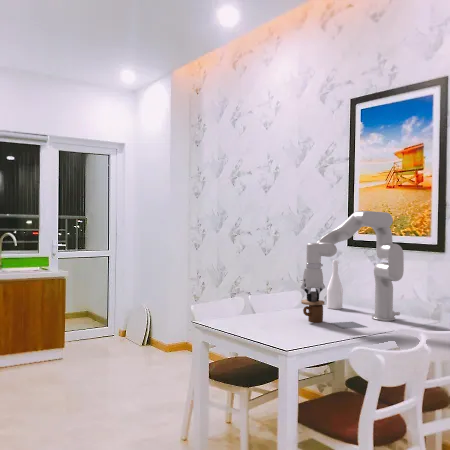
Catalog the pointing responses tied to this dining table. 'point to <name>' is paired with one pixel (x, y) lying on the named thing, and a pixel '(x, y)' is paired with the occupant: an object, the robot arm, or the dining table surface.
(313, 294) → the copper lid
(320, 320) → the mug
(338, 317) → the dining table surface
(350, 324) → the rubber mat
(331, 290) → the wine bottle
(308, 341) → the dining table surface
